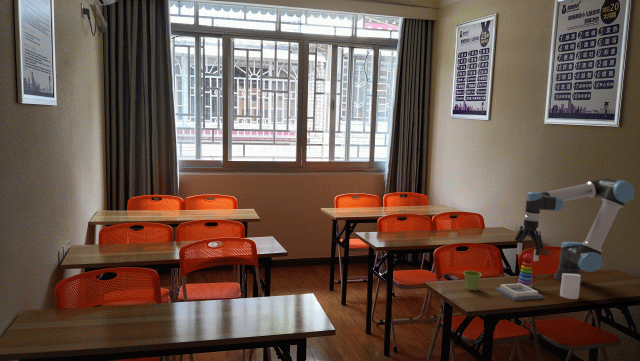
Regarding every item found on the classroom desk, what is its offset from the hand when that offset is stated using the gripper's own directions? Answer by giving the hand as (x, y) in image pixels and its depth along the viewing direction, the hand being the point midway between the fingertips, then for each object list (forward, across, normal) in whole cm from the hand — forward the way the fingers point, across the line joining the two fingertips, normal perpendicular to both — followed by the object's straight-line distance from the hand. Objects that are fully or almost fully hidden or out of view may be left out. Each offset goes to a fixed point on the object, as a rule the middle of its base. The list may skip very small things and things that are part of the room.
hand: (527, 257), depth 285 cm
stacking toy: (+17, 0, 0) cm, 17 cm away
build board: (+17, +11, -12) cm, 24 cm away
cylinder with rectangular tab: (+17, +18, +14) cm, 29 cm away
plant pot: (+17, -1, -34) cm, 38 cm away
